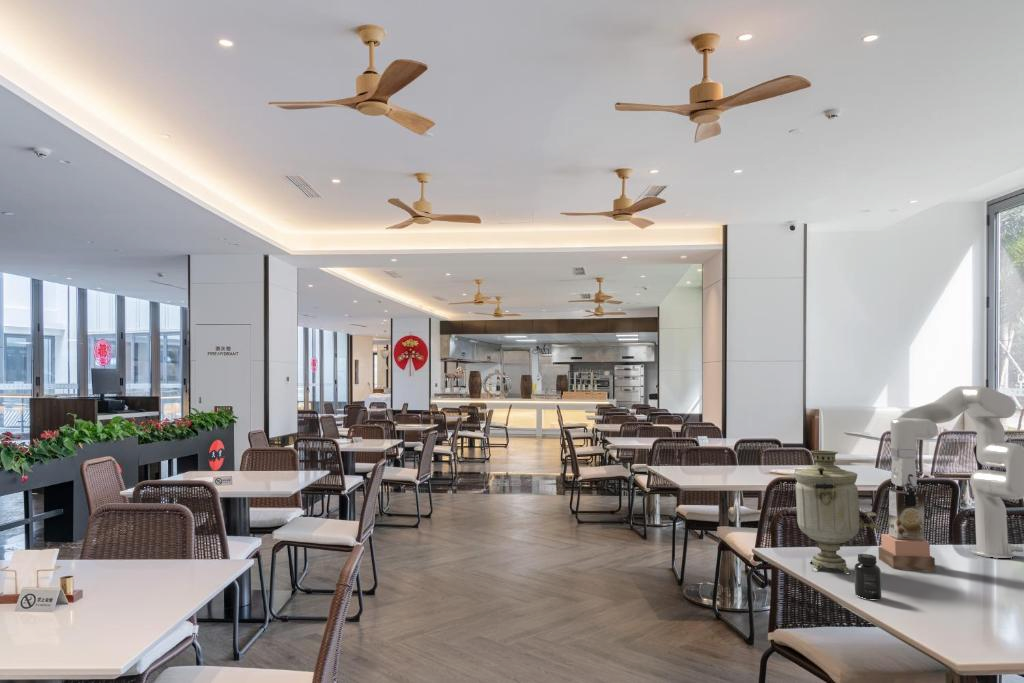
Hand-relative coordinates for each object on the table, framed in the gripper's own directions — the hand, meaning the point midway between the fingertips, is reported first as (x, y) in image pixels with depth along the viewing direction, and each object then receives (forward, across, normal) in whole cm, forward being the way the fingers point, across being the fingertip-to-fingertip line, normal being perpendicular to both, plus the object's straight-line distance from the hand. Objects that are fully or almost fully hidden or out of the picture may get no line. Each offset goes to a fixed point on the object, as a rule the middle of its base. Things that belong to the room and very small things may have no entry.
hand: (905, 503), depth 225 cm
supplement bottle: (+21, +41, -27) cm, 54 cm away
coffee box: (+12, 0, 0) cm, 12 cm away
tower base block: (+22, 0, 0) cm, 22 cm away
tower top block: (+17, 0, -1) cm, 17 cm away
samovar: (+21, +13, -27) cm, 37 cm away
